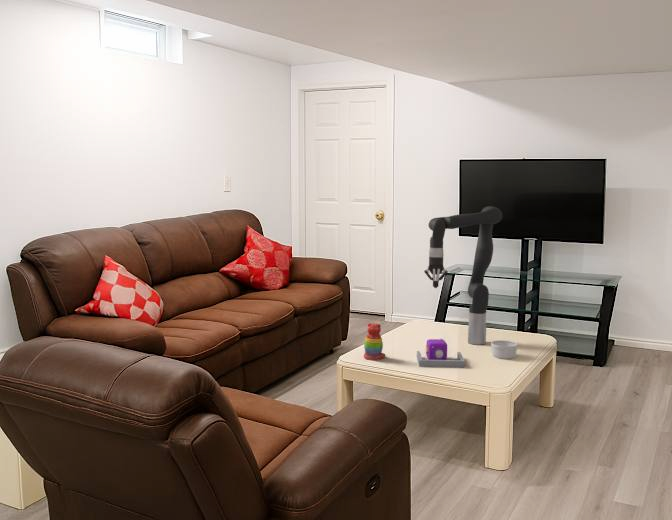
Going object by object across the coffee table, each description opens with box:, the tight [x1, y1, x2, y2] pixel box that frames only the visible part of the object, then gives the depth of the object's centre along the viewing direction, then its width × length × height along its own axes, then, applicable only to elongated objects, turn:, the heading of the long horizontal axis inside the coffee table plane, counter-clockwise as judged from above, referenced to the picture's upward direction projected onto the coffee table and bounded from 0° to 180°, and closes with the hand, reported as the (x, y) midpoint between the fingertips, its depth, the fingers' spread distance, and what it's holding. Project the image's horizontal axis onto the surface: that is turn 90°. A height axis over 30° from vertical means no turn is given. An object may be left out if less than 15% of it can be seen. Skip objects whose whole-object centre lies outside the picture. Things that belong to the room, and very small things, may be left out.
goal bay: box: [416, 350, 466, 368], centre depth 348 cm, size 22×16×3 cm
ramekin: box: [490, 339, 519, 360], centre depth 360 cm, size 13×13×7 cm
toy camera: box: [425, 337, 448, 360], centre depth 351 cm, size 11×14×10 cm
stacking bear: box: [363, 322, 387, 361], centre depth 354 cm, size 11×10×18 cm
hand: (435, 287), depth 376 cm, fingers closed
